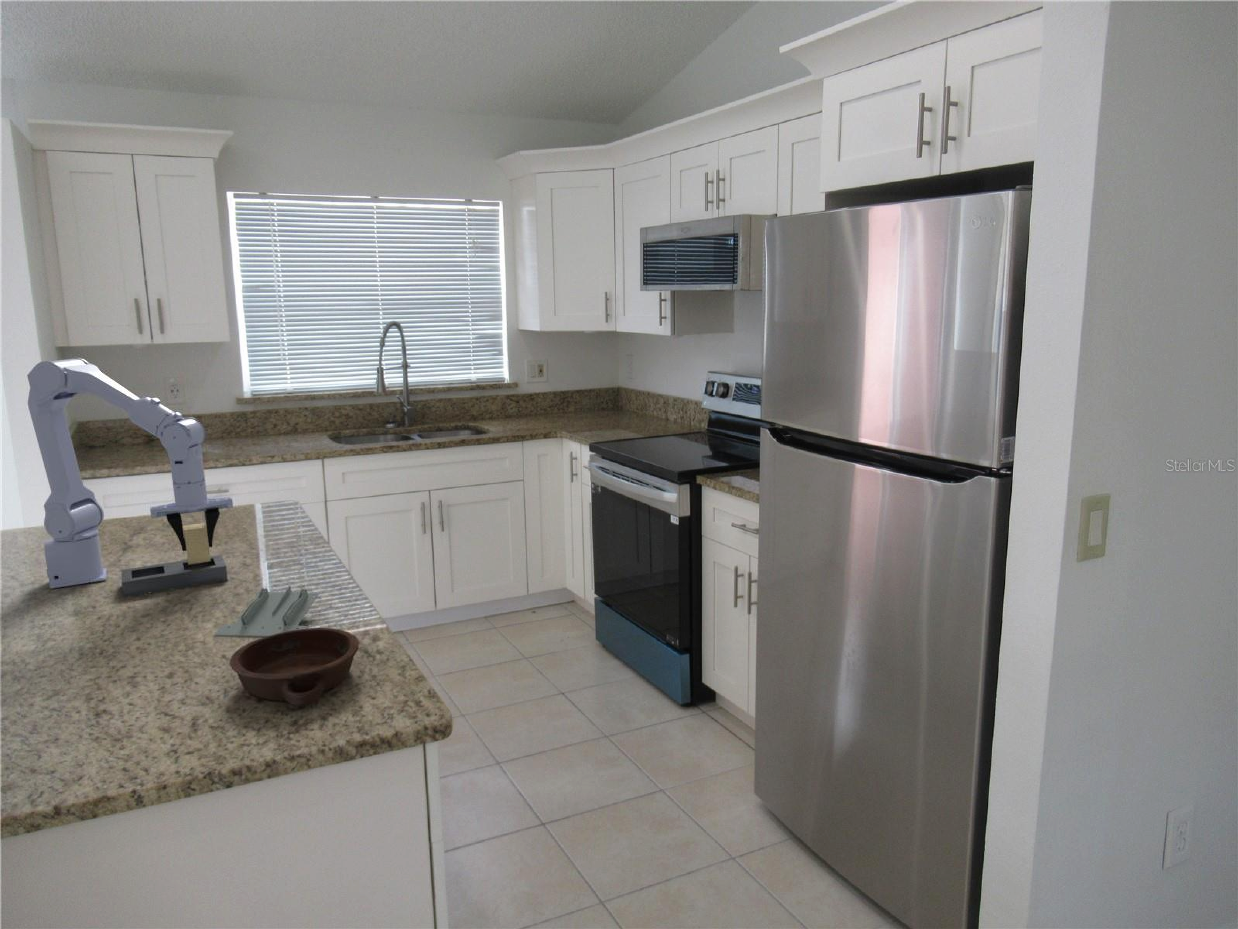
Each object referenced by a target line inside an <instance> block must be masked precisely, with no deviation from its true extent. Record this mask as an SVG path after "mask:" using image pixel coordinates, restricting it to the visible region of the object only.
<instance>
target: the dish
mask: <svg viewBox="0 0 1238 929" xmlns="http://www.w3.org/2000/svg"><path fill="white" fill-rule="evenodd" d="M359 644H360V642H359V638H358V637H357V636H356V635H354V634H352V633H350V632H349V631H346V630H342V629H339V628H332V627H310V628H309V627H308V629H299V630H293V631H287V632H282V633H278V634H274V635H271V636H267V637H260V638H257V639H256V640H253V641H251V642H248V643H246V644H245V645H243V646H242V647H240V648H239V649H237V650H236V651H235V652H234V653H233V654H232V655H231V658H230V661H229V666H230V668H231V669H232V671H233V672H235V673H236V674H237V676H238V679H239V680H240V684H241V685H242V687H243V688H244V690H245V691H246V692H247V693H249V694H252V695H253V696H255V697H258V698H260V699H264V700H269V701H280V702H281V701H284V702H288V703H289V704H290V705H293V706H295V707H296V706H299V707H301V706H302V707H303V706H307V705H309V704H312V703H314V702H316V701H317V700H318V699H320V698H321V696H322V693H325V692H326V691H329V690H331V689H333V688H335V687H337V686H338V685H339V684H340V683H342V682H343V681H344V679H345V678H346V677H347V676H348V674H349V672H350V671H351V667H352V665H353V661H354V657H355V656H356V654H357V652H358V650H359Z"/></svg>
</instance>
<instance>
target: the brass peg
mask: <svg viewBox="0 0 1238 929" xmlns="http://www.w3.org/2000/svg"><path fill="white" fill-rule="evenodd" d="M182 526H183V534H184V539H185V544H186V551H185V554H186V560H187V561H188V565H190V564H196V563H203V562H209V561H211V560H210V556H211V553H210V547H209V543H208V535H207V527H206V522H201V523H194V524H186V525H182Z"/></svg>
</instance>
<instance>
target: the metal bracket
mask: <svg viewBox="0 0 1238 929" xmlns="http://www.w3.org/2000/svg"><path fill="white" fill-rule="evenodd" d="M318 596H319V592H308V590H307V588H301V589H300V591H299V592H296V591H294V592H293V591H292V586H291V585H289V586H288V587H287V588H286V589H285V591H268V588H267V587H265V588H264V587H263V588H261V589H260V591H259V592H258V593H257V595H256V596H255V597H254V599H253V600H252V601H251V602H250V603H249V604H248V606H247V607H245V608H246V609H244V611H243V612H242V613H241V615H240V617H239V618H238V619H237V621H236V622H235V623H233V624H224V623H223V624H221V625H220V627H219V628H218V629H217V630H216V631H215V633H214V637H215V638H234V637H236V638H264V637H267V636H271V635H274V634H278V633H282V632H287V631H293V630H299V629H309V626H307V625H300V623H301V622H302V620H303V619H304V617H305V616H306V614H307V613H308V611H309V609H310V608H311V606H312V605H313V604H314V602H315V600H316V599H317V597H318Z"/></svg>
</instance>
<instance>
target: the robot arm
mask: <svg viewBox="0 0 1238 929" xmlns="http://www.w3.org/2000/svg"><path fill="white" fill-rule="evenodd" d="M26 376H27V380H28V383H29V384H28V385H29V392H28V396H27V397H28V399H27V405H28V412H29V414H30V418H31V421H32V425H33V428H34V433H35V437H36V440H37V445H38V447H39V448H38V449H39V452H40V455H41V459H42V462H43V466H44V471H45V474H46V478H47V480H48V485H49V488H50V494H49V496H48V498H47V499H46V501H45V502H44V504H43V509H44V519H43V526H44V529H45V531H46V533H47V534H48V535H49V536H50V537H51V538H52V539H50V540H46V541H44V544H43V545H44V546H43V549H44V556H45V564H46V575H47V578H48V581H49V583H48V584H49V589H57V588H62V587H69V586H75V585H76V586H77V585H83V584H89V582H90V583H95V582H102V581H106V580H107V571H108V570H107V568H106V567H104V566H103V558H102V553H101V552H102V551H101V545H100V538H99V532H100V528H99V526H101V524H103V521H104V518H105V516H104V514H105V513H104V510H103V508H102V506H101V504H99V502H98V501H97V498H96V497H95V493H94V491H93V490H91V489H90V488H88V487H86V486H85V485H84V483H83V479H82V476H81V470H80V468H79V463H78V459H77V456H76V451H75V449H74V444H73V440H72V437H71V433H70V429H69V425H68V422H67V417H66V414H65V407H66V406H68V404H69V403H70V401H71V400H72V399H73V398H74V397H75V396H77V395H78V394H80V393H82V394H83V393H85V394H86V393H90V394H92V395H94V396H96V397H98V398H100V399H102V400H103V401H105V402H108V403H109V404H111V405H113V406H116V407H117V408H118V409H121V410H122V411H124V412H125V413H128V416H129V420H130V422H132V423H133V424H134V425H136V426H137V427H140V428H141V429H143V430H145V431H146V432H148V433H149V434H151V435H153V436H155V437H156V438H158V439H159V441H160V444H161V445H162V447H163V448H164V449H165V450H166V451H167V456H168V459H169V462H170V463H169V464H170V471H171V481H172V487H173V497H174V502H172V503H166V504H163V505H162V504H160V505H156V506H150V507H149V510H150V518H151V519H158V518H161V517H166V521H167V522H168V524H169V525H170V527H171V528H172V530H173V531H174V533H175V535H176V536H177V538H178V540H179V543H180V546H181V551H182V552H186V544H185V539H184V532H183V526H184V525H183V519H182V515H184V514H192V513H201V512H204V519H205V524H206V527H207V535H208V543H209V548H213V540H214V534H215V529H216V526H217V523H218V520H219V518H220V514H221V513H220V510H222V509H228V510H229V509H234V503H233V498H232V496H230V497H229V496H228V497H217V498H208V495H207V493H208V492H207V485H206V477H205V476H206V475H205V469H204V468H205V466H204V460H203V452H202V451H203V450H202V444H203V442H204V441H205V438H206V430H205V426H204V425H203V424H202V423H201V422H200V421H199V420H197V418H196V417H195V418H194V417H183V414H182V413H180V412H176V411H175V412H174V410H171V409H170V408H168V407H167V406H165V405H163V404H161V403H162V401H161V400H160V399H159V398H157V397H152V398H151V397H149V396H148V397H147V396H146V397H142V398H140V397H138V396H137V395H135V394H134V393H132V392H131V391H129V390H128V389H126V388H125V387H124V386H122V385H120V384H119V383H118V382H116V381H115V380H113V379H111V378H110V377H109V376H108V375H105V373H103V372H101V370H100V369H99V367H98V365H95V364H93V363H90V362H88V361H87V360H85V359H84V358H81V357H71V358H66V359H59V360H58V359H57V360H43V361H40V362H38V363H37V364H35V366H34V367H33V368H32V369H31V370H30V371H29V373H27V375H26Z"/></svg>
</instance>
